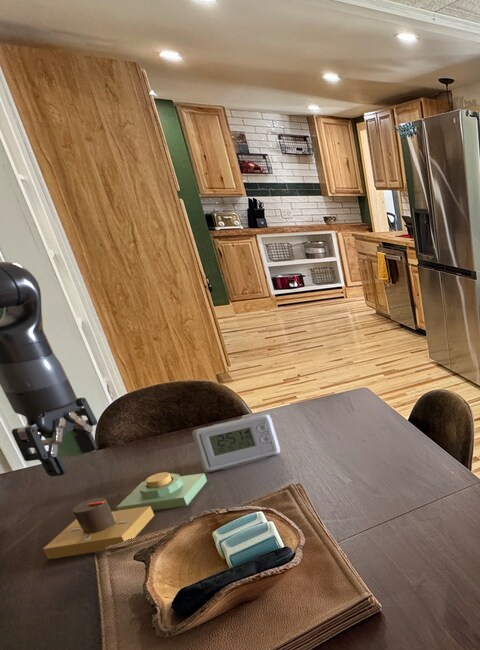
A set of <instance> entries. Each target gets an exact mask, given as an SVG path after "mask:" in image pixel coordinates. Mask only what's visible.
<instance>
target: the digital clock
mask: <svg viewBox="0 0 480 650" xmlns="http://www.w3.org/2000/svg"><path fill="white" fill-rule="evenodd" d="M191 433H192V438H193V442H194V444H195V448H196V451H197V454H198V458H199V460H200V464H201V468H202V470H203V471H204V472H205V473H214V472H216V471H220V470H227V469H231V468H236V467H238V466H239V467H240V466H243V465H246V464H250V463H254V462H258V461H261V460H262V461H263V460H265V459H266V458H270V457H272V456H273V457H274V456H277V455H279V454H280V453H281V446H280V443H279V440H278V438H277V433H276V431H275V426H274V423H273V420H272V417H271V415H270V414H269V413H264V414H259V415H254V416H247V417H242V418H239V419H238V418H237V419H233V420H229V421H225V422H219V423H215V424H212V425H210V426H205V427H200V428H197V429H194V430H193V431H192V432H191Z"/></svg>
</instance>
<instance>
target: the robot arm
mask: <svg viewBox="0 0 480 650" xmlns="http://www.w3.org/2000/svg"><path fill="white" fill-rule="evenodd" d="M41 292H42V291H41V288H40V285H39V282H38V280H37V279H36V277H35V276H34V274H33V273H32V272H31V271H29V270H28V269H27V268H26V267H24V266H22V265H20V264H18V263H15V262H13V261H12V262H11V261H0V309H3V314H2V317H1V318H0V387H1V389H2V392H3V393H4V396H5V397H6V399H7V401H8V403H9V405H10V407H11V409H12V410H13V412H14V413H15V414H17V415H20V416H23V417H25V418H26V419H25V420H26V425H25V426H23V427H17V428H12V430H11V433H12V437H13V438H14V441H15V443H16V445H17V447H18V449H19V451H20V454H21V456H22V458H23V460H24V461H25V462H32V461H39V462H40V464H41V465H42V467H43V469H44V471H45V473H46V474H47V475H48V476H50V477H58V476H64V475H65V474H67V472H68V470H67V468H66V467H65V465H64V461H63V460H62V458H61V457H60V455H59V454H58V452H59V451H58V450H59V445H60V444H62V442H63V437H64V436H66V434H67V433H69V432H70V433H71V434H73V437H74V439H75V441H76V443H77V446H78V447H79V449H80V452H82V453H83V454H85V453H94V452H95V451H97V450H98V448H99V447H98V446H97V445H98V444H97V442H96V440H95V438H94V436H93V434H92V432H93V431H94V430H93V429H94V428H93V426H97V425H98V420H97V418H96V415H95V414H94V413H93V410H92V407H90V404H89V402H88V400H87V399H86V397H77V395H76V393H75V391H74V389H73V387H72V384H71V382H70V380H69V378H68V376H67V373H66V371H65V369H64V366H63V365H62V363H61V361H60V360H59V359H58V357H57V356H56V354H55V352H54V350H53V348H52V346H51V344H50V342H49V339H48V338H47V335H46V333H45V331H44V323H43V310H42V309H43V308H42V293H41ZM83 417H86V419H84V418H83ZM42 437H43V438H45V439H42ZM46 446H48V450H47V449H46ZM31 449H33V452H32V450H31Z"/></svg>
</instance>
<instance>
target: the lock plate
mask: <svg viewBox="0 0 480 650" xmlns="http://www.w3.org/2000/svg"><path fill="white" fill-rule="evenodd" d="M111 512H112V514H113V516H114V518H115V520H116V521H115V523H114V524H113V525H112V526H110V527H108V528H106V529H104V530H102V531H99V532H95V533H84V532H83V530H82V528H81V527H80V525H79V523H78V521H77V519H76V518H75V519H74V521H72V522H71V523H70V524H69V525H68V526H66V527H65V528H64V529H62V531H61V532H60V533H59V534H58V535H57V536H56V537H54V538H53V539H52V540H51V541H50V542H49V543H47V545H45V546H44V547H43V548H42V551H43V552H44V554H45V556H46V558H47V560H53V559H59V558H64V557H65V558H66V557H71V556H78V555H84V554H91V553H95V552H96V553H97V552H101V551H100V550H102V549H103V548H104V549H105V548H106V547H108V546H110V545H114V544H118V543H121V542H124V541H126V540H128V539H131V538H132V539H133V538H134V539H135V538H136V537H137V536H138V535H139V534H140V533H141V531H142V530H143V529H144V527H146V526H147V524H148V523H149V522H150V521H151V520H152V519H153V517H155V514H154V510H153V511H152V509H151V507H150V506H147V507H140V508H133V509H126V510H119V511H118V510H114V511H112V510H111ZM134 539H133V540H134ZM102 551H103V550H102Z"/></svg>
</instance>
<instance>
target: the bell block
mask: <svg viewBox="0 0 480 650" xmlns="http://www.w3.org/2000/svg"><path fill="white" fill-rule="evenodd" d="M169 474H170V476H171V479H172V482H170V483H169V484H167V485H165V486H161V487H158V488H152V489H150V488H148V485H147V483H146V480H144V481H141V483H140V484H138V485H137V486H136V487H135V489H133V490H132V491H131V492H130V493H129V494H128V495H127V496H126V497H125V498H124V499H123V500H122V501H121V502H120V503H119V504H118V505H116V507H115V508H116V511H119V510H126V509H133V508H140V507H147V506H150V507H151V509H152V511H153V512H154V511H160V510H167V509H173V508H178V507H179V508H180V507H186V506H188V505H189V504H190V503H191V502H192V500H193V499H194V497H196V495H197V494H198V493H199V492H200V490H201V489H202V488H203V486H205V484H206V483H207V482H208V479H207V476H206V475H205V473H196V474H187V475H180V474H178V473H169Z"/></svg>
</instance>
